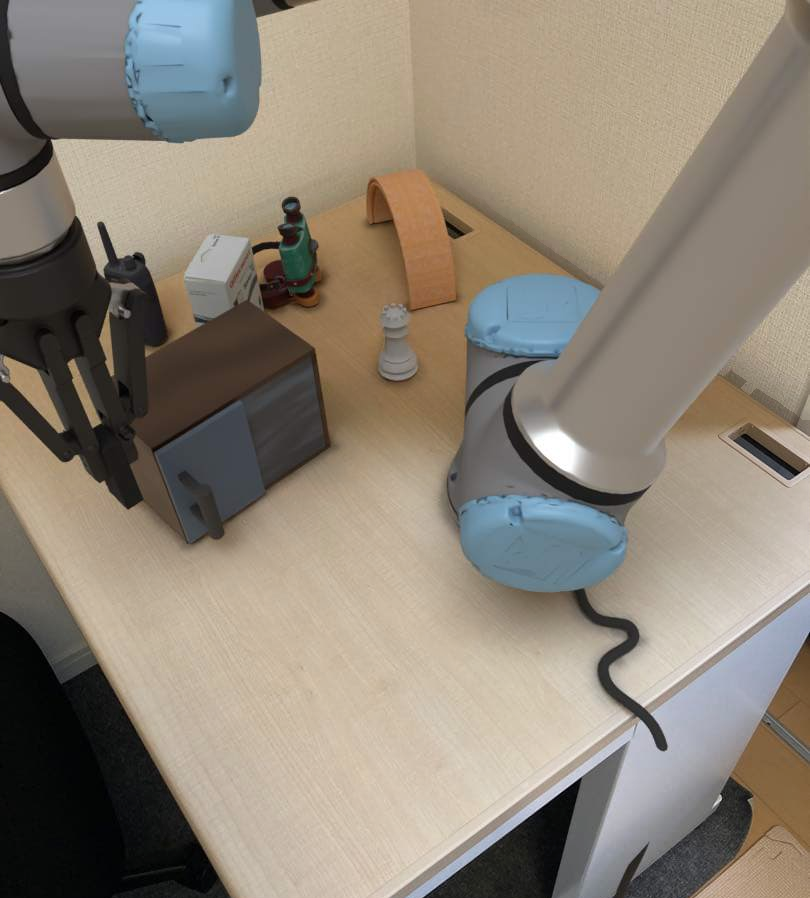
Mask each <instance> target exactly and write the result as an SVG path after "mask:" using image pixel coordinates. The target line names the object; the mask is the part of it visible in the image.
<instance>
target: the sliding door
mask: <svg viewBox="0 0 810 898" xmlns="http://www.w3.org/2000/svg"><path fill="white" fill-rule="evenodd" d="M154 454H155V457H156V460H157V462H158V465H159V467H160V470H161V473H162V475H163V478H164V481H165V483H166V486H167V488H168V491H169V494H170V496H171V499H172V502H173V504H174V507H175V510H176V512H177V515H178V517H179V520H180V523H181V525H182V528H183V531H184V533H185V536H186V538H187V541H188V542H189V543H188V544H191V545H192V544H193V543H194V542H195V541H197V540H199V539H200V538H201V537H204V535H206V534H207V533H208V535H209V537H210V538H211V540H215V541H218V540H221V539H223V538H224V537H225V535H226V531H225V527H224V524H223V523H224V522H225V521H227V520H228V519H230V518H231V517H232V516H234V515H235V514H237V513H239V512H240V511H242V510H243V509H244V508H246V507H247V506H249V505H250V504H252V503H253V502H254V501H255V502H256V500H258V499H259V498H261V497H262V496H263V495H265V494H266V493H267V490H266V491H265V488H264V484H263V480H262V476H261V472H260V468H259V464H258V460H257V456H256V452H255V448H254V444H253V440H252V436H251V432H250V429H249V425H248V421H247V417H246V413H245V409H244V405H243V403H242V402H241V401H240V400H238V401H237V402H235V403H233V404H232V405H230V406H228V407H227V408H225V409H224V410H222V411H220V412H219V413H217V414H216V415H214V416H212V417H211V418H209V419H207V420H206V421H204V422H203V423H201V424H199V425H198V426H196V427H194V428H193V429H191V430H190V431H188V432H186V433H185V434H183V435H182V436H180V437H178V438H177V439H175V440H173V441H172V442H170V443H169V444H167V445H165V446H164V447H162V448H161V449H159V450H157V451H156V452H154Z"/></svg>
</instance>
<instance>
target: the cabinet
mask: <svg viewBox="0 0 810 898" xmlns="http://www.w3.org/2000/svg"><path fill="white" fill-rule="evenodd" d="M145 360H146V375H147V390H148V405H149V410H148V413H147V415H146V416H145V417H143V418H136V419H135V420H134V421H133V422H132V423H131V425H130V426H131V427H132V428H133V429H134V430H135V431H136V435H135V437H134V439H133V441H134V443H135V446H136V449H137V451H138V460H137V461H135V462H133V463H132V464H130V467H131V469H132V472H133V474H134V477H135V479H136V482H137V484H138V487H139V489H140V492H141V494H142V497H143V499H144V500H143V501H142V502H144V503H145V504H146V505H147V506H148V507H149V508H150V509H151V510H152V511H153V512H154V513H155V514H156V515H157V516H158V517H159V518H160V519H161V520H162V521H163V522H164V523H165V524H166V525H167V526H168V527H169V528H171V530H173V531H174V533H175V534H177V536H178V537H180V539H181V540H182V541H184V543H186V544H190V543H189V542H188V541H187V538H186V536H185V533H184V531H183V528H182V525H181V523H180V520H179V517H178V515H177V512H176V510H175V507H174V504H173V502H172V499H171V496H170V494H169V491H168V488H167V486H166V483H165V481H164V478H163V475H162V473H161V470H160V467H159V465H158V462H157V460H156V457H155V454H154V452H156V451H157V450H159V449H161V448H162V447H164V446H165V445H167V444H169V443H170V442H172V441H173V440H175V439H177V438H178V437H180V436H182V435H183V434H185V433H186V432H188V431H190V430H191V429H193V428H194V427H196V426H198V425H199V424H201V423H203V422H204V421H206V420H207V419H209V418H211V417H212V416H214V415H216V414H217V413H219V412H220V411H222V410H224V409H225V408H227V407H228V406H230V405H232V404H233V403H235V402H237V401H238V400H240V401H241V402H242V403H243V405H244V409H245V413H246V417H247V421H248V425H249V429H250V432H251V436H252V440H253V444H254V448H255V452H256V456H257V460H258V464H259V468H260V472H261V476H262V480H263V484H264V488H265V491H266V492H267V490H269V489H270V488H272V487H273V486H275V485H276V484H277V483H280V482H281V481H282V480H284V479H285V478H286V477H288V476H290V475H291V474H292V473H294V472H296V471H297V470H299V469H300V468H301V467H303V466H304V465H306V464H307V463H309V462H311V461H312V460H313V459H315V458H316V457H317V456H319V455H321V454H322V453H324V452H325V451H327V450H328V449H329V448H331V447H332V445H331V439H330V438H331V437H330V433H329V432H330V431H329V426H328V420H327V414H326V407H325V401H324V395H323V388H322V383H321V375H320V370H319V364H318V357H317V351H316V348H315V347H314V346H313V345H312V344H311V343H309V342H307V341H306V340H305V339H304V338H302V337H301V336H299V335H298V334H297V333H295V332H293V331H292V330H290V329H289V328H288V327H287V326H285V325H284V324H282V323H281V322H279V321H278V320H277V319H275V318H273V316H271V315H270V314H268V313H266V312H265V310H264V311H262V310H261V309H260V308H258V307H257V306H255V305H254V304H253V303H251V302H250V301H248V300H245V301H244V302H242V303H240V304H238V305H237V306H235V307H233V308H231V309H230V310H228V311H226V312H224V313H222V314H221V315H219V316H217V317H215V318H214V319H212V320H210V321H208V322H207V323H205V324H203V325H201V326H200V327H198V328H197V327H196V328H194V329H192V330H191V331H189V332H187V333H185V334H184V335H182V336H180V337H179V338H177V339H175V340H173V341H172V342H169V343H168V344H166V345H164V346H162V347H161V348H159V349H157V350H155V351H153V352H152V353H150V354H148V355H145ZM111 378H112V381H113V383H114V386H115V376H114V374H113V375H111ZM115 388H116V387H115ZM99 421H100V423H101V424H102V425H103V426H104V424H103V422H102V421H101V420H100V419H99Z"/></svg>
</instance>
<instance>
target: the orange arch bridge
mask: <svg viewBox="0 0 810 898" xmlns="http://www.w3.org/2000/svg"><path fill="white" fill-rule="evenodd" d="M365 196H366V197H365V202H366V203H365V204H366V205H365V206H366V207H365V209H366V221H367V222H368V224H370V225H371V224H377V223H378V224H379V223H384V222H387V221H392V220H393V223H394V227H395V230H396V234H397V239H398V242H399V246H400V250H401V255H402V260H403V265H404V271H405V277H406V284H407V285H406V286H407V292H408V303H409V305H408V306H409V309H410V311H413V310H418V309H422V308H426V307H431V306H436V305H441V304H444V303H449V302H453V301H457V285H456V283H457V282H456V276H455V275H456V274H455V265H454V258H453V252H452V247H451V242H450V237H449V233H448V229H447V225H446V220H445V216H444V213H443V210H442V207H441V205H440V201H439V197H438V196H437V193H436V191H435V189H434V186H433V184H432V182H431V180H430V179H429V176H427V175H426V173H425V172H424V171H423V170H422V169H421V168H412V169H406V170H401V171H398V172H392V173H388V174H387V173H386V174H383V175H378V176H372V177H370V179H369V180H368V182H367V185H366V195H365Z"/></svg>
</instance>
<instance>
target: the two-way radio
mask: <svg viewBox="0 0 810 898" xmlns="http://www.w3.org/2000/svg"><path fill="white" fill-rule="evenodd" d="M96 227H97V229H98V232H99V236H100V240H101V242H102V246H103V248H104V249H103V250H104V252H105V255H106V258H107V261H108V262H107V263H106V264H105V265H104V267H103V269H102V270H103V277H104V278H105V279H106V280H107V281H108V282H110V283H116V282H117V281H118V280H119V279H121V278H126V279H128V280H129V281H131V282H132V283H133V284H134V285H136V286H137V287H138V288H139V289H141V290H142V291H143V292H145V293H146V294H147V295H148V296H149V299H150V300H149V305H148V309H147V313H146V317H145V320H144V324H143V330H144V345H148V346H152V347H156V346H160V345H162V344H163V343H164V342H165V341H166V340H167V338H168V328H167V324H166V320H165V317H164V313H163V310H162V305H161V301H160V298H159V294H158V290H157V288H156V284H155V283H154V282H155V281H154V279H153V277H152V274H151V272H150V269H149V268H148V267H147V266H146V263H147V262H146V258H145V255H144V254H143V253H142V252H139V251H135V252H134V253H133V254H132V255H129V254H127V255H124V257H118V256H117V254H116V251H115V247H114V245H113V241H112V240H111V237H110V234H109V232H108V230H107V226H106V224H105V222H103V221H102V220H101V221H100V220H99V221H98V222H97V223H96Z"/></svg>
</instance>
